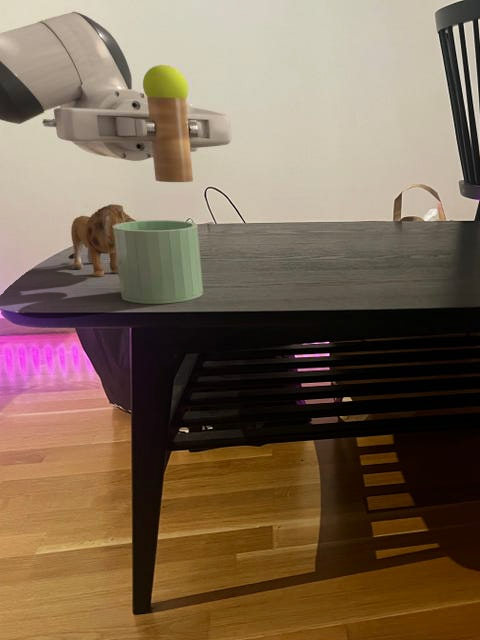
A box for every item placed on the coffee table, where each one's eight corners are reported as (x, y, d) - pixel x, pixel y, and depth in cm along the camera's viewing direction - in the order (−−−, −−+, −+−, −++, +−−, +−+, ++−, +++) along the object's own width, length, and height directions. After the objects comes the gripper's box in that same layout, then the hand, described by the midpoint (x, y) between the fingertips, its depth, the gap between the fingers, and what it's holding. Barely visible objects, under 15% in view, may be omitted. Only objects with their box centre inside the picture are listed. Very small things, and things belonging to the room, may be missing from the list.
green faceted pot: (126, 307, 76) (117, 232, 73) (117, 290, 82) (108, 221, 80) (210, 299, 80) (204, 229, 77) (195, 284, 87) (189, 219, 84)
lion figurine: (150, 275, 91) (142, 204, 88) (110, 281, 86) (100, 207, 84) (88, 259, 98) (79, 194, 95) (48, 265, 94) (37, 196, 91)
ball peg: (156, 182, 82) (144, 62, 78) (149, 179, 86) (137, 64, 81) (199, 182, 84) (189, 65, 80) (191, 179, 88) (181, 67, 84)
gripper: (33, 94, 83) (72, 94, 74) (200, 103, 97) (250, 105, 88) (41, 149, 85) (80, 156, 76) (204, 151, 99) (253, 157, 90)
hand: (173, 128), depth 82 cm, fingers closed on ball peg, 4 cm apart
